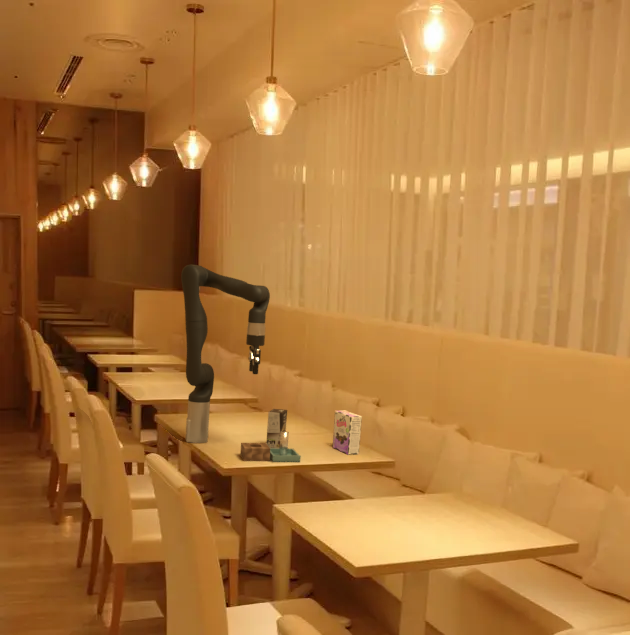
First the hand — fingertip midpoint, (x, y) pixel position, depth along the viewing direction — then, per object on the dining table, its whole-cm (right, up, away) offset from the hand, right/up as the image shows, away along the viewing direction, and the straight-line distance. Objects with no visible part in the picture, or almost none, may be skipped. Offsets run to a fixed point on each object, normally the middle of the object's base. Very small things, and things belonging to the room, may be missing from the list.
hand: (253, 372), depth 324 cm
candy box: (+39, -34, +11) cm, 53 cm away
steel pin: (+13, -33, -10) cm, 37 cm away
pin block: (+2, -33, -13) cm, 35 cm away
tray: (+13, -34, -10) cm, 37 cm away
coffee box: (+9, -33, +8) cm, 35 cm away
